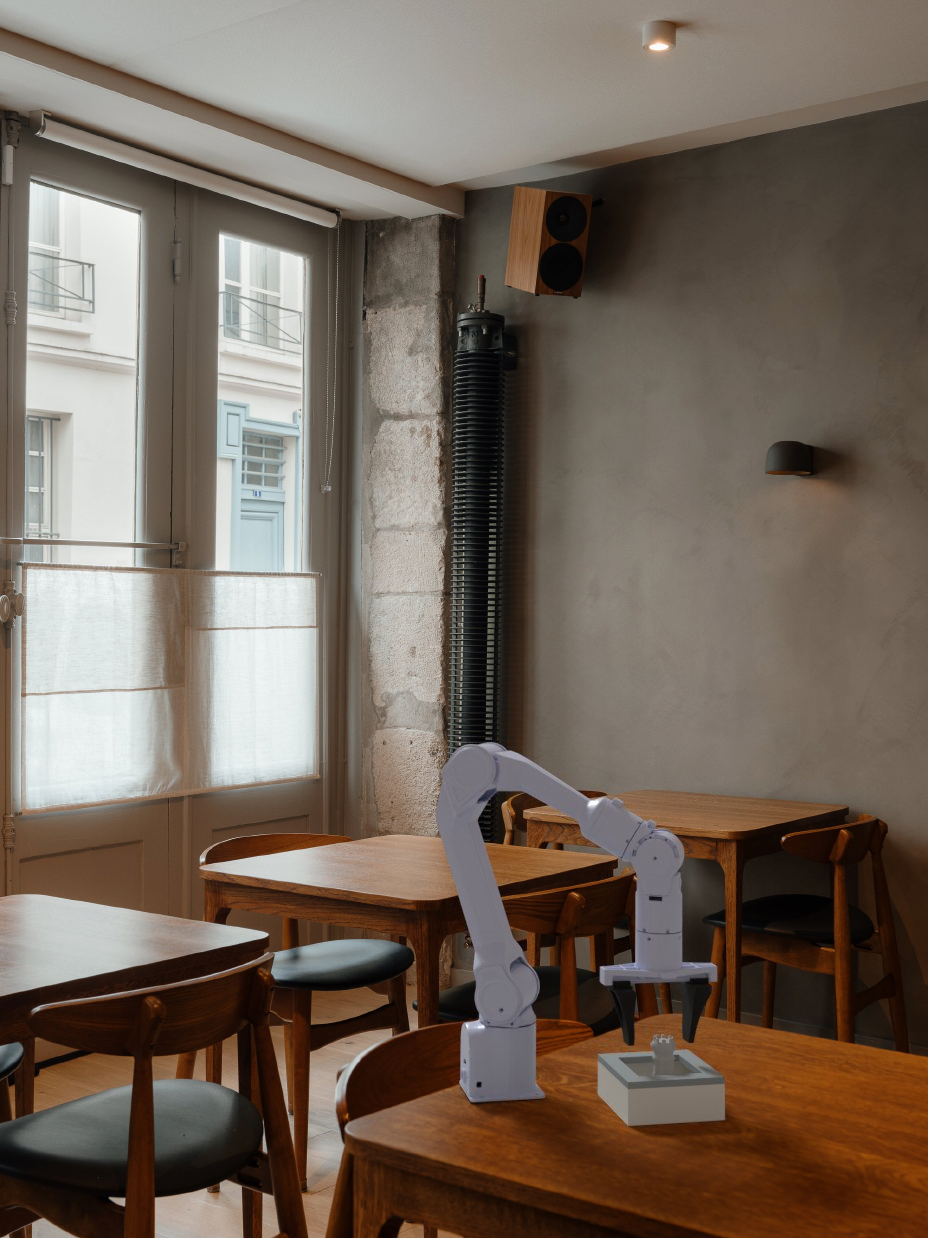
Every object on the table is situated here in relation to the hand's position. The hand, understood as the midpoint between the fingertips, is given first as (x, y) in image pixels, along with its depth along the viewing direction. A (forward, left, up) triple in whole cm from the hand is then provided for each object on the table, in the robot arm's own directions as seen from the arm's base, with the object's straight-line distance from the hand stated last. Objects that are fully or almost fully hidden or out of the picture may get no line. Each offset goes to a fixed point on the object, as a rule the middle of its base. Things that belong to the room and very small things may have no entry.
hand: (658, 1042), depth 155 cm
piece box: (0, 0, -8) cm, 8 cm away
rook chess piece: (0, -1, -7) cm, 7 cm away
